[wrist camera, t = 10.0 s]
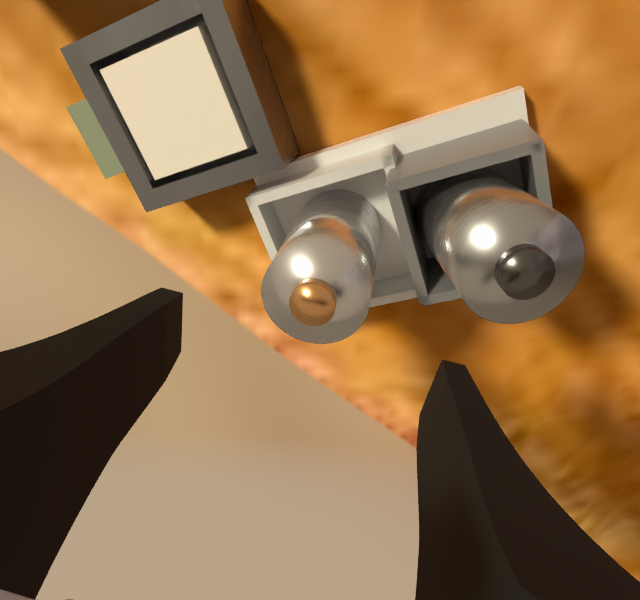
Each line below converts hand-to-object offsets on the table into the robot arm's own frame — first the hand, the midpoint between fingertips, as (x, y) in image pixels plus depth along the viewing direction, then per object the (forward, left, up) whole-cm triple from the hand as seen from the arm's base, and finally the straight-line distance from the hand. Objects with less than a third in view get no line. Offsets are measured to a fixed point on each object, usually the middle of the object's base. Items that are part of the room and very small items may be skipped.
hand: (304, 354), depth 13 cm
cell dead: (0, -5, -9) cm, 10 cm away
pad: (+7, +4, -8) cm, 11 cm away
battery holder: (0, -2, -10) cm, 10 cm away
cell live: (0, 0, -9) cm, 9 cm away
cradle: (+7, +4, -10) cm, 13 cm away
